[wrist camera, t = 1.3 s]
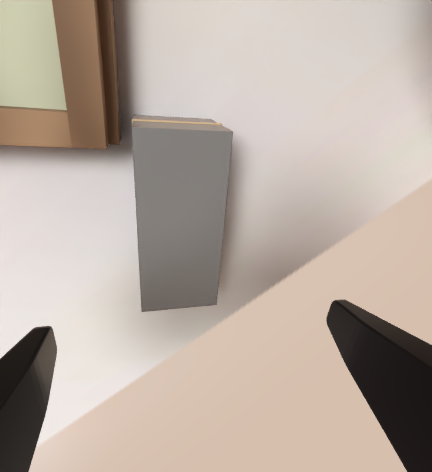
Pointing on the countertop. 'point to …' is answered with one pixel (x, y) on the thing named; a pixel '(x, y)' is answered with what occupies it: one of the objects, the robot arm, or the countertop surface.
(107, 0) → the wooden picture frame
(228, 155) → the glasses case
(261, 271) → the countertop surface
